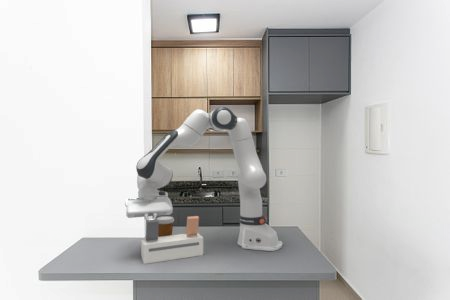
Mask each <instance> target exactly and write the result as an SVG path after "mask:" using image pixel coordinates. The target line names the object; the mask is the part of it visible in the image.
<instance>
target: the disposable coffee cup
mask: <svg viewBox="0 0 450 300" xmlns="http://www.w3.org/2000/svg"><path fill="white" fill-rule="evenodd" d="M156 219H158V221H159V227H158V237H162V236H170V235H173V227H174V221H175V219H174V217H173V216H170V215H161V216H157V217H156Z"/></svg>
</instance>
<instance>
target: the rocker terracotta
mask: <svg viewBox="0 0 450 300" xmlns="http://www.w3.org/2000/svg"><path fill="white" fill-rule="evenodd" d="M199 222H200V216H199V215H192V216H187V217H186V227H185V234H186V236H191V235H197V233H199V224H200V223H199Z"/></svg>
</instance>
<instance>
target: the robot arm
mask: <svg viewBox="0 0 450 300" xmlns="http://www.w3.org/2000/svg"><path fill="white" fill-rule="evenodd" d="M208 129H209V130H211V131H214V132H223V131H226V132H227V134H228V135H229V138H230V143H231V147H232V152H233V155H234V158H235V160H236V164H237V165H238V168H239V170H238V171H237V173H236V174H237V176H236V178H237V183H238V193H239V202H240V204H239V206H240V207H239V209H240V211H239V212H240V213H239V219H238V221H239V222H238V223H239V234H238V238H237V239H238V240H237V243H236V244H237V245H238V246H240V247H241V248H242V249H244V250H255V251H267V252H268V251H269V252H276V251H278V250H280V249H281V248H283V245H284V244H283V241H281V240H279V237H278V232H277V231H276V230H274V228H273V227H271V226H270V225H269V224H267V219H268V218H267V216H264V215H263V198H262V195H261V190H260V189H261V188H263V187H264V186H265V185H266V183H267V175H266V172H265V171H264V169H263V165H262V163H261V160H260V158H259V155H258V152H257V150H256V149H257V148H256V146H255V142H254V137H253V134H252V133H253V132H252V130H251V128H250V126H249V124H248V121H247V120H246V118H242V117H238V116H236V114H234V112H233V111H232V110H231V109H230V108H228V107H226V106H219V107H216V108H215V109H213V110H212V111H211V112H209V113H208V112H206V111H205V110H203V109H198V108H197V109H195V110H193V111H192V113H191V114H190V115H188V116H187V117H186V119H185V120H184V121H183V123H182V124H181V125H180V127H178V128H177V129H175V130H171V131H169V132H168V133H166V134H165V135H164V136H163V137H162V138H161V140H160V141H158V143H156V145H154V146H153V147H152V149H150V151H149V152H148V153H146V154H145V155H144V156H142V157H141V158H140V159H139V160H138V161H137V164H136V166H135V168H136V172H137V177H136V183H137V185H136V186H137V188H138V193H137V195H138V197H133V198H128V199H126V200H125V201H124V205H125V207H126V213H125V214H126V218H127V219H133V218H144V220H145V221H146V220H155V219H157V217H160V216H170V215H171V214H173V212H174V211H173V210H174V207H173V204H172V201H171V198H169V193H168V192H167V191H162V190H158V189H161V188H164V187H166V186H168V185H169V184H170V183H171V182H172V179H173V176H174V175H173V170H172V169H171V168H170V167H168V166H167V165H165V164H163V163H161V162H160V161H159V160H160V159H161V158H162V157H163V156H164V155H165V153H166V152H167V151H168V150H169V149H171V148H172V147H183V148H191V147H193V146H195V145H197V144H198V142H200V141H201V140H200V139H201V138H202V137H203V135H204V134H205V132H206V131H207V130H208ZM149 217H152V218H149Z"/></svg>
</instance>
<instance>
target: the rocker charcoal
mask: <svg viewBox="0 0 450 300" xmlns="http://www.w3.org/2000/svg"><path fill="white" fill-rule="evenodd" d="M158 227H159V221H158V219H157V218H156V219H155V220H145V238H146V241H150V240H158Z"/></svg>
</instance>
